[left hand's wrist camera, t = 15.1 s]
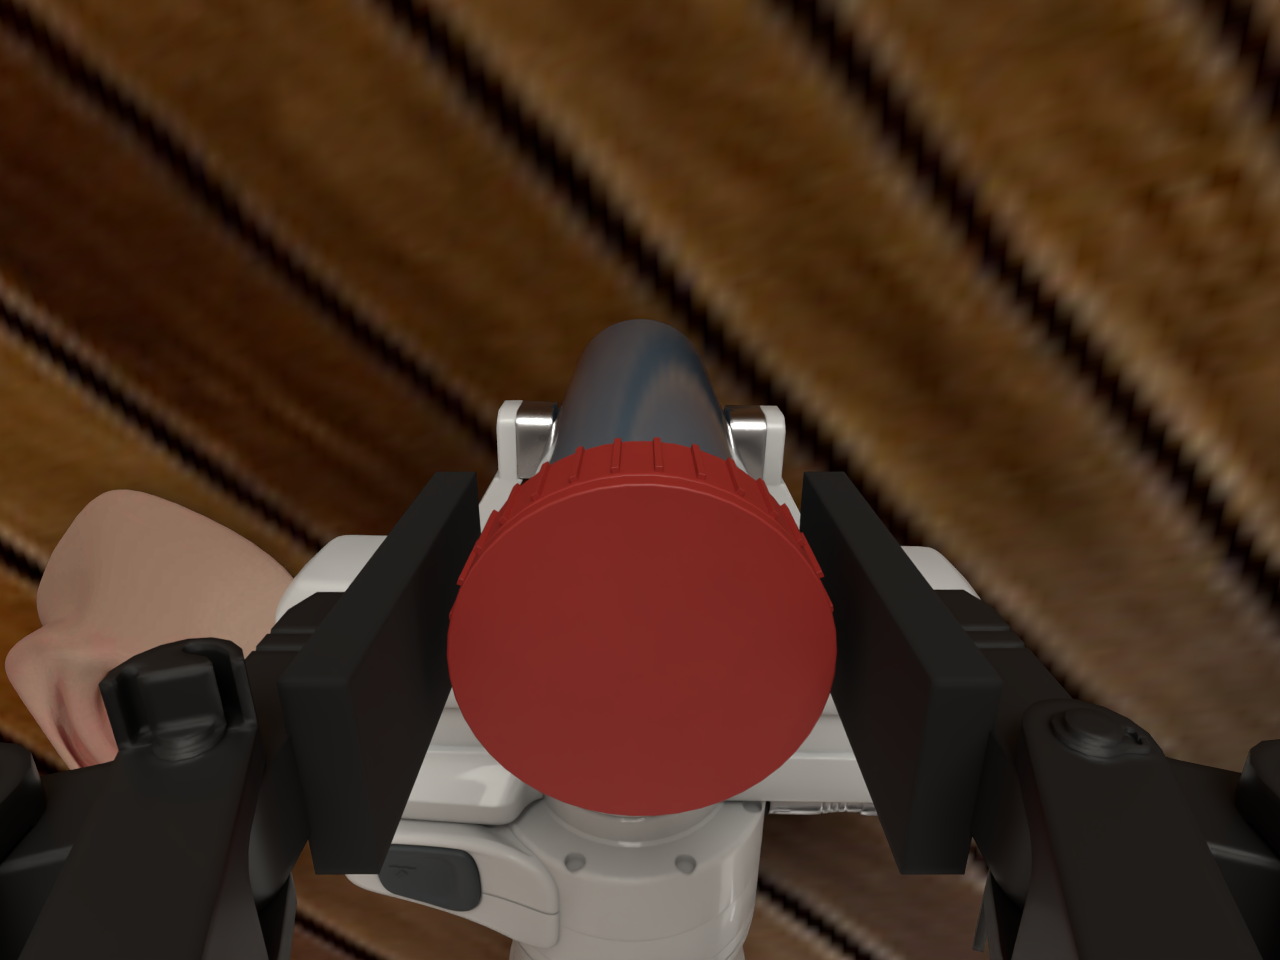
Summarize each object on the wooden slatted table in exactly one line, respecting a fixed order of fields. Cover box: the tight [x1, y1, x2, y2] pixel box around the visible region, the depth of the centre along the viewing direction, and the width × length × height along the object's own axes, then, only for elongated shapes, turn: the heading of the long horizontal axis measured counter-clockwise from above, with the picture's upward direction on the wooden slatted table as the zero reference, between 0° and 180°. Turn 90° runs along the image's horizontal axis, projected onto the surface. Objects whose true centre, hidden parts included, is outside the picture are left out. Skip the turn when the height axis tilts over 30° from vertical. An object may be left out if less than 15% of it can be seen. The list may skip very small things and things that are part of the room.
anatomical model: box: [5, 490, 294, 770], centre depth 28 cm, size 13×4×12 cm
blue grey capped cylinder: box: [533, 319, 749, 476], centre depth 18 cm, size 5×5×16 cm
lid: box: [447, 437, 837, 816], centre depth 11 cm, size 6×6×2 cm
